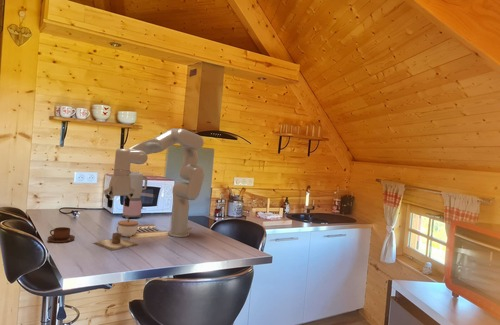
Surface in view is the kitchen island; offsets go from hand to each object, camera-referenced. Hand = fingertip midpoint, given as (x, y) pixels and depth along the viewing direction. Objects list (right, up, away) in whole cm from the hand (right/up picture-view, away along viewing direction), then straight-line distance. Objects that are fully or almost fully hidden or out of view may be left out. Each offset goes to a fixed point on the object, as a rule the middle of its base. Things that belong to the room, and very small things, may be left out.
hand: (118, 206), depth 174 cm
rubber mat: (-1, -19, 0) cm, 19 cm away
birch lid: (-1, -19, 0) cm, 19 cm away
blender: (-15, -16, +68) cm, 71 cm away
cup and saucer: (-28, -17, -1) cm, 33 cm away
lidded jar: (-2, -19, +19) cm, 27 cm away
